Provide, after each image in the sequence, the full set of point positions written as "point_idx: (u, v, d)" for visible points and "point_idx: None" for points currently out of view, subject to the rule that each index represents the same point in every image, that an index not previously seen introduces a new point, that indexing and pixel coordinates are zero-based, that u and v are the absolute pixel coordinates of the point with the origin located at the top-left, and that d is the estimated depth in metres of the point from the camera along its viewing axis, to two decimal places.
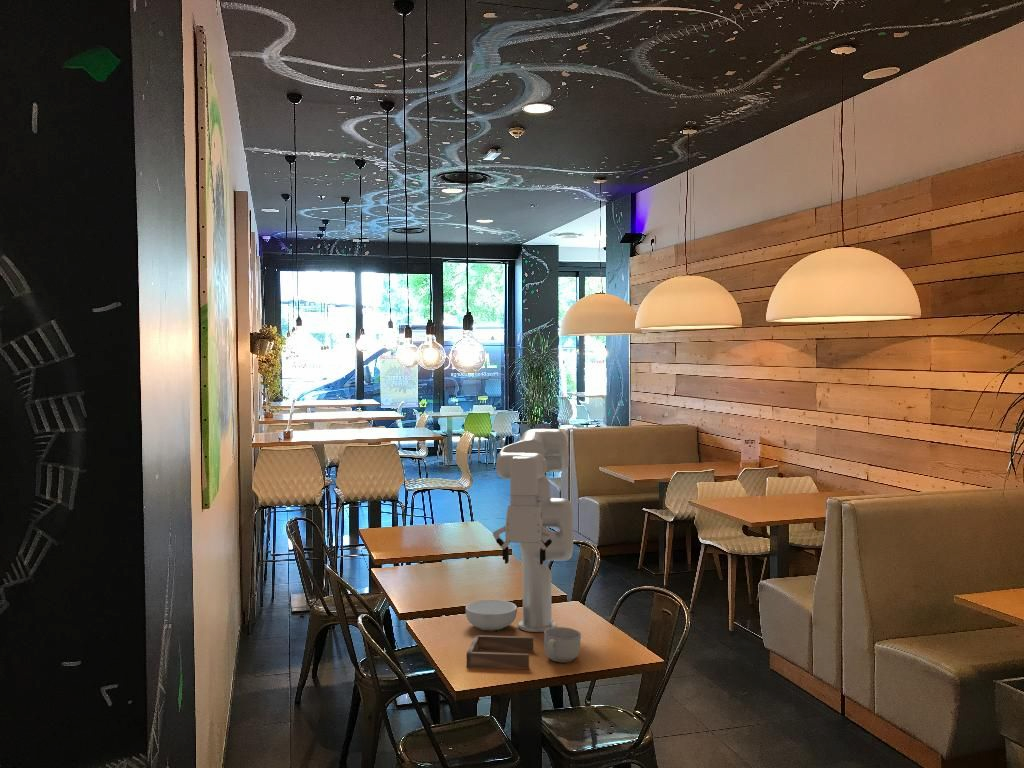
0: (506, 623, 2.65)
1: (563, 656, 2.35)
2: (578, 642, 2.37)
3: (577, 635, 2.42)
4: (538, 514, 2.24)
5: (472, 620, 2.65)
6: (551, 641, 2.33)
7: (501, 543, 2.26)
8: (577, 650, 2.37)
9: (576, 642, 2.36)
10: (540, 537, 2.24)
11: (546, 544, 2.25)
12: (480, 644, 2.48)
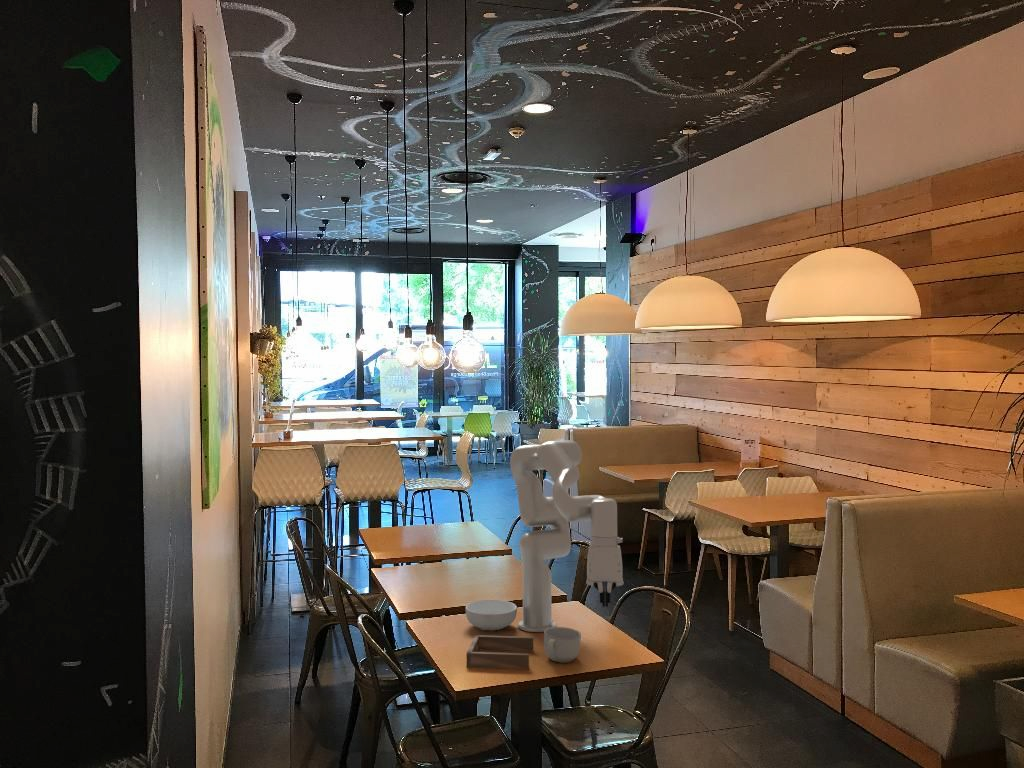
0: (506, 623, 2.65)
1: (563, 656, 2.35)
2: (578, 642, 2.37)
3: (577, 635, 2.42)
4: (619, 554, 2.35)
5: (472, 620, 2.65)
6: (551, 641, 2.33)
7: None
8: (577, 650, 2.37)
9: (576, 642, 2.36)
10: (621, 576, 2.35)
11: None
12: (480, 644, 2.48)
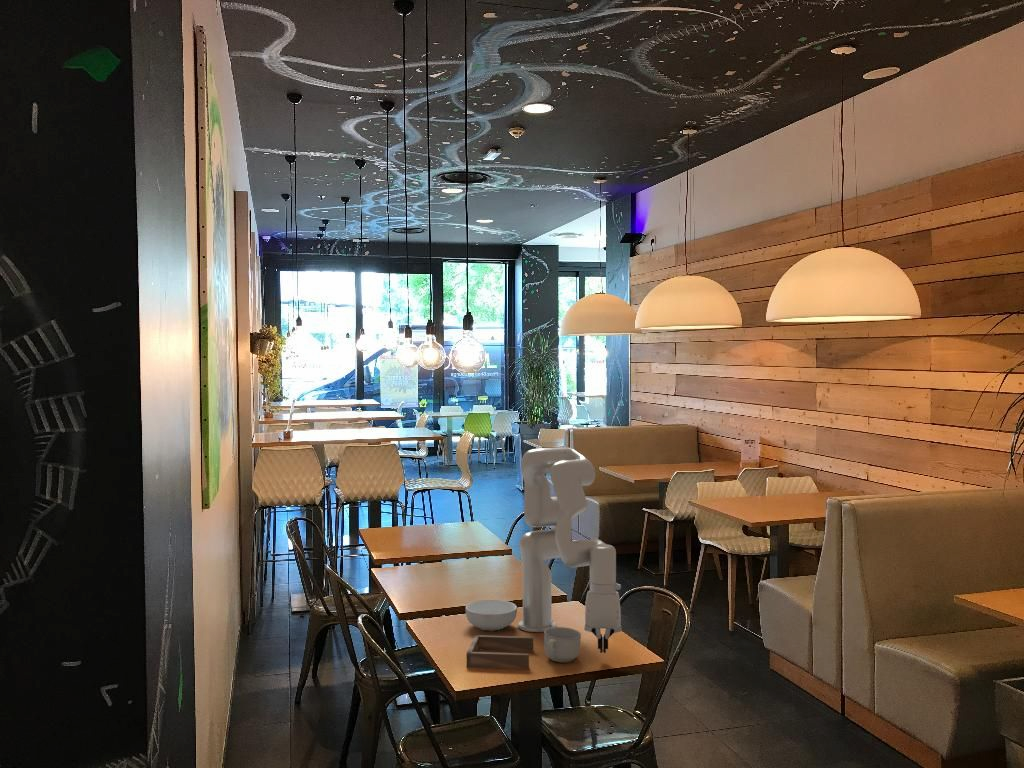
0: (506, 623, 2.65)
1: (563, 656, 2.35)
2: (578, 642, 2.37)
3: (577, 635, 2.42)
4: (617, 601, 2.35)
5: (472, 620, 2.65)
6: (551, 641, 2.33)
7: None
8: (577, 650, 2.37)
9: (576, 642, 2.36)
10: (619, 623, 2.35)
11: None
12: (480, 644, 2.48)
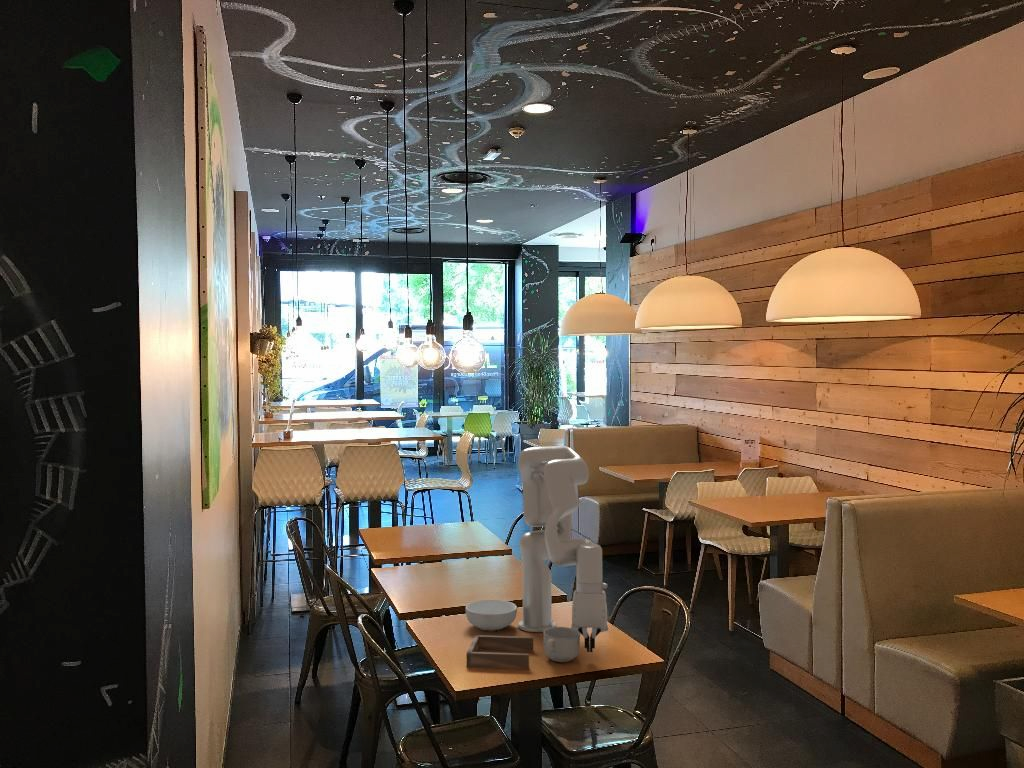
0: (506, 623, 2.65)
1: (563, 656, 2.35)
2: (577, 642, 2.37)
3: (576, 635, 2.42)
4: (603, 600, 2.35)
5: (472, 620, 2.65)
6: (550, 641, 2.33)
7: None
8: (576, 650, 2.37)
9: (575, 641, 2.36)
10: (605, 622, 2.35)
11: (596, 633, 2.37)
12: (480, 644, 2.48)
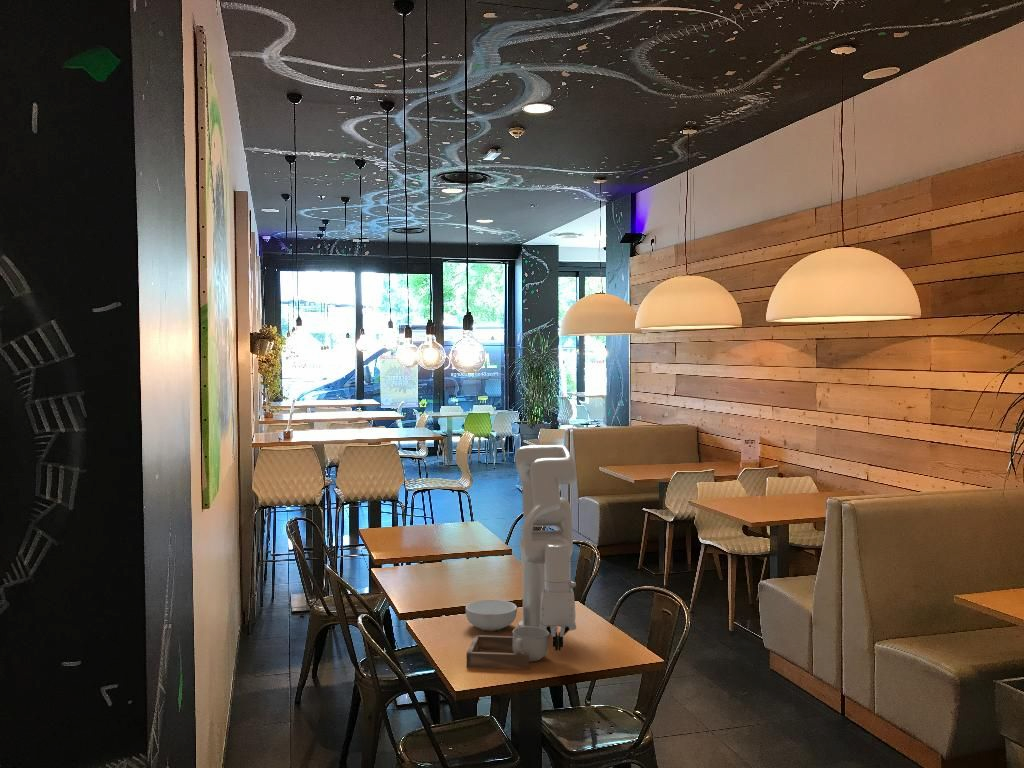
0: (506, 623, 2.65)
1: (530, 655, 2.36)
2: (546, 641, 2.38)
3: (546, 634, 2.42)
4: (571, 599, 2.36)
5: (472, 620, 2.65)
6: (518, 640, 2.34)
7: None
8: (545, 649, 2.38)
9: (544, 641, 2.37)
10: (573, 621, 2.36)
11: (564, 631, 2.37)
12: (480, 644, 2.48)
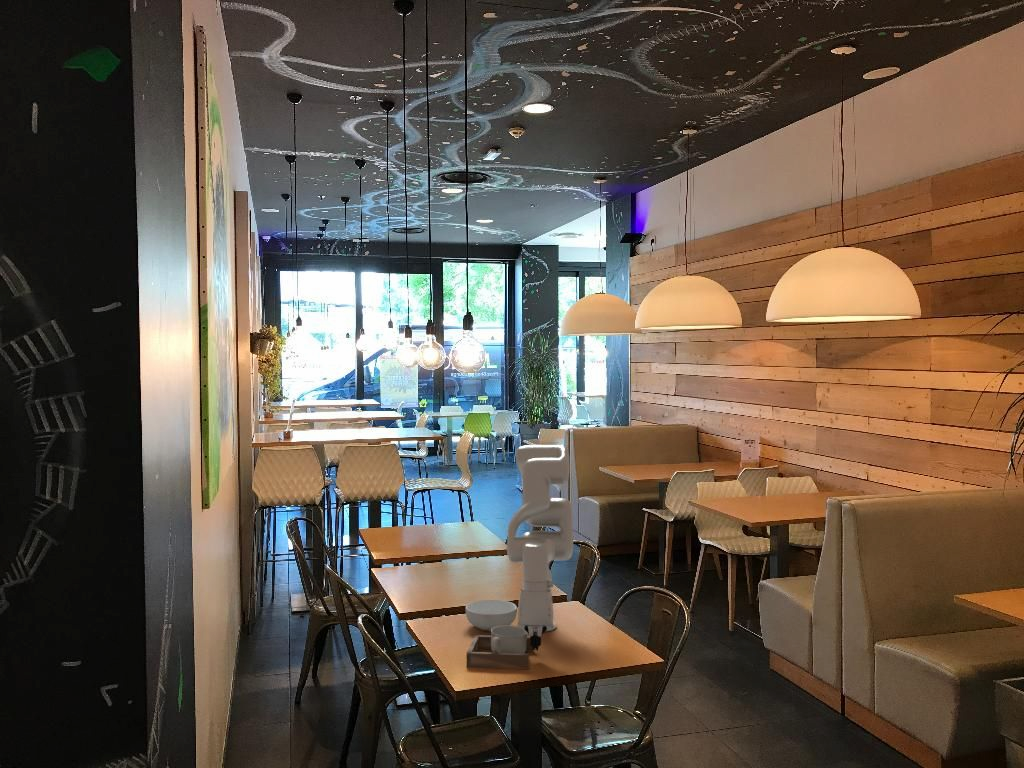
0: (506, 623, 2.65)
1: None
2: (523, 640, 2.39)
3: (524, 633, 2.43)
4: (549, 599, 2.37)
5: (472, 620, 2.65)
6: (495, 639, 2.35)
7: None
8: (522, 648, 2.39)
9: (521, 640, 2.38)
10: (551, 621, 2.37)
11: (541, 631, 2.38)
12: (480, 644, 2.48)
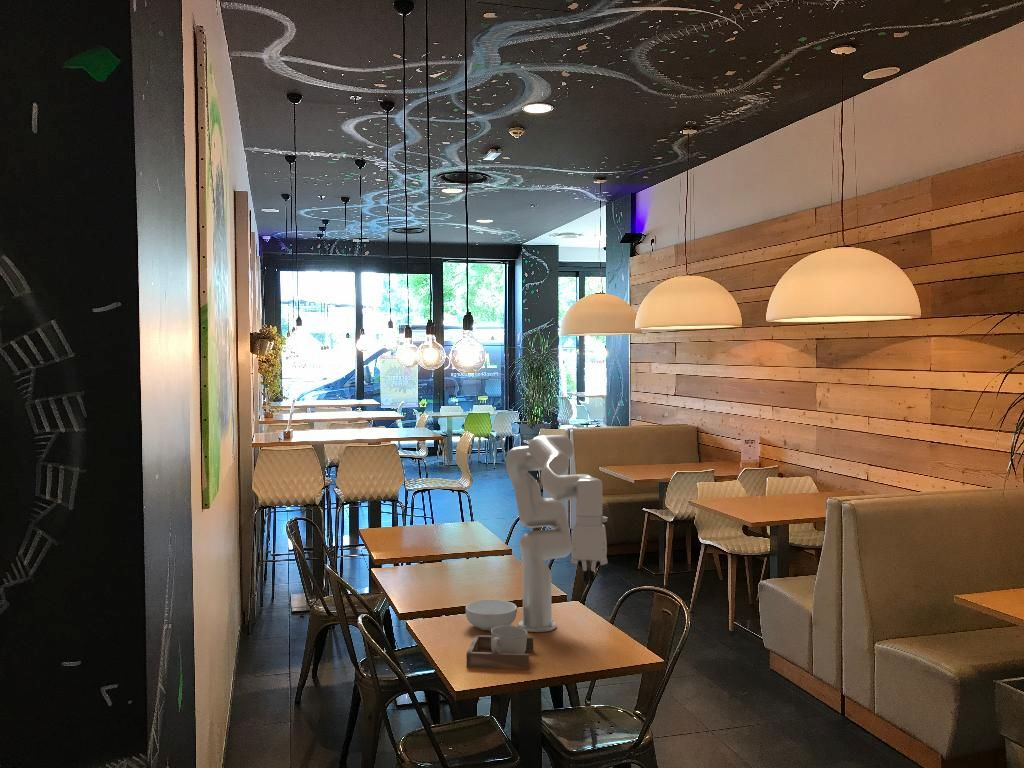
0: (506, 623, 2.65)
1: None
2: (523, 641, 2.39)
3: (524, 634, 2.43)
4: (603, 534, 2.36)
5: (472, 620, 2.65)
6: (495, 639, 2.35)
7: None
8: (522, 648, 2.39)
9: (521, 640, 2.38)
10: (605, 555, 2.36)
11: None
12: (480, 644, 2.48)
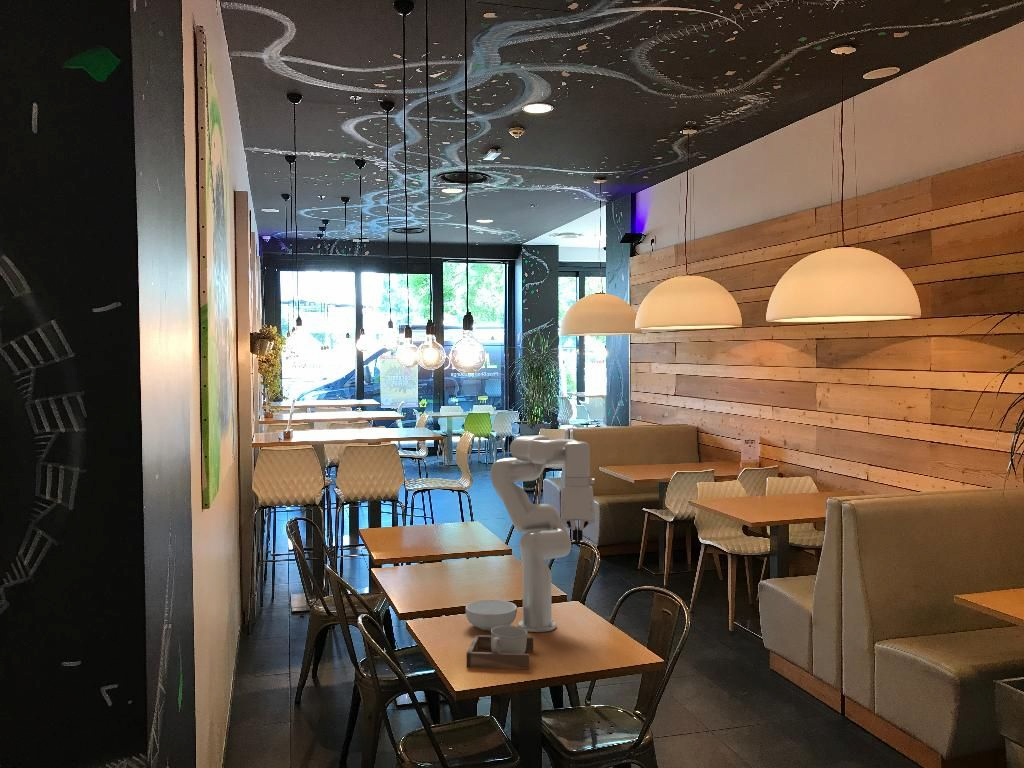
0: (506, 623, 2.65)
1: None
2: (523, 641, 2.39)
3: (524, 634, 2.43)
4: (591, 494, 2.47)
5: (472, 620, 2.65)
6: (495, 639, 2.35)
7: None
8: (522, 648, 2.39)
9: (521, 640, 2.38)
10: (592, 515, 2.47)
11: None
12: (480, 644, 2.48)
